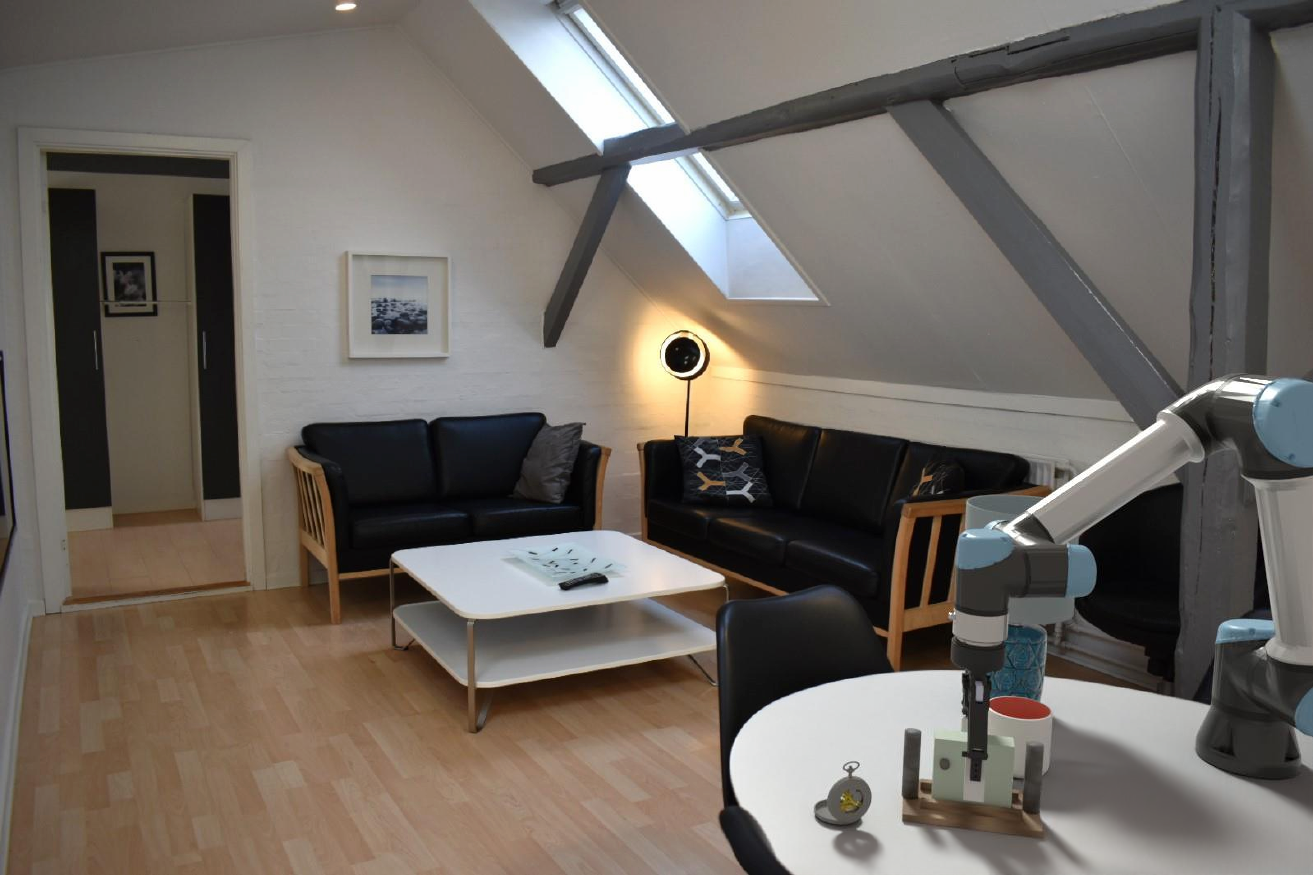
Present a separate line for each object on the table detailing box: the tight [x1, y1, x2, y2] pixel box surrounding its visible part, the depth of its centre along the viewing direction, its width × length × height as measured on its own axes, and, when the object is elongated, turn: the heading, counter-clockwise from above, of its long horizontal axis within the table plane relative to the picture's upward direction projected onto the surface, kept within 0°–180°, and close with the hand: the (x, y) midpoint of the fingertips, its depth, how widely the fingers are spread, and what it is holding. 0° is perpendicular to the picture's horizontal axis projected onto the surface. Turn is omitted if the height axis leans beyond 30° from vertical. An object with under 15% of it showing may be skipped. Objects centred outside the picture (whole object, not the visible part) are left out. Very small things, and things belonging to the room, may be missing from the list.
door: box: [931, 728, 1015, 808], centre depth 154 cm, size 11×4×10 cm, turn 76°
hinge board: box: [901, 727, 1044, 839], centre depth 155 cm, size 19×12×11 cm, turn 76°
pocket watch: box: [813, 760, 873, 826], centre depth 151 cm, size 8×8×10 cm
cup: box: [988, 696, 1054, 780], centre depth 169 cm, size 10×10×10 cm
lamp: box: [964, 494, 1080, 702], centre depth 192 cm, size 19×19×38 cm
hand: (970, 778), depth 155 cm, fingers open, 13 cm apart
